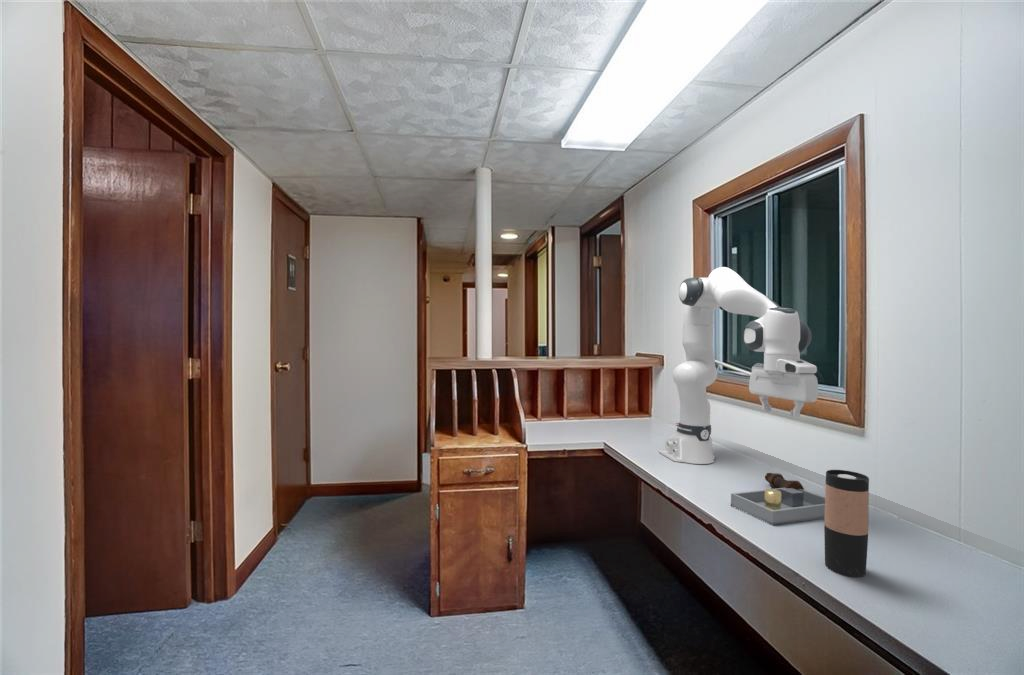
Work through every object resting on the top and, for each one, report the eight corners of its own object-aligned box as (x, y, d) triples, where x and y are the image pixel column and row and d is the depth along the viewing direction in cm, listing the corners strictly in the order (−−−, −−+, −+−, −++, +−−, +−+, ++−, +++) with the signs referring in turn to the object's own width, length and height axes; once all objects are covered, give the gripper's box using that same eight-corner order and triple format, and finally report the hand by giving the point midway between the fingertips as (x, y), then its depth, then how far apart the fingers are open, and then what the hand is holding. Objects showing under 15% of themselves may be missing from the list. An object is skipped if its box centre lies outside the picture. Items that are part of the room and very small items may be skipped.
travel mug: (816, 559, 106) (818, 468, 106) (853, 561, 106) (855, 470, 105) (835, 576, 99) (838, 479, 99) (876, 579, 98) (878, 480, 98)
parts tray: (730, 505, 139) (731, 493, 139) (794, 498, 146) (794, 486, 146) (772, 525, 125) (772, 511, 125) (840, 516, 132) (840, 502, 132)
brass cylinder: (760, 511, 133) (761, 489, 133) (772, 509, 135) (772, 488, 135) (772, 516, 130) (773, 494, 130) (784, 515, 131) (784, 493, 131)
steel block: (780, 502, 140) (780, 489, 140) (791, 501, 142) (791, 487, 142) (792, 507, 137) (792, 493, 137) (803, 506, 138) (803, 492, 138)
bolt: (771, 488, 159) (797, 503, 144) (758, 480, 159) (782, 494, 144) (780, 473, 159) (807, 486, 144) (767, 465, 159) (792, 477, 144)
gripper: (744, 362, 145) (743, 408, 145) (804, 367, 125) (803, 420, 126) (760, 362, 147) (759, 408, 147) (822, 367, 127) (821, 419, 127)
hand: (780, 414), depth 136 cm, fingers open, 8 cm apart
